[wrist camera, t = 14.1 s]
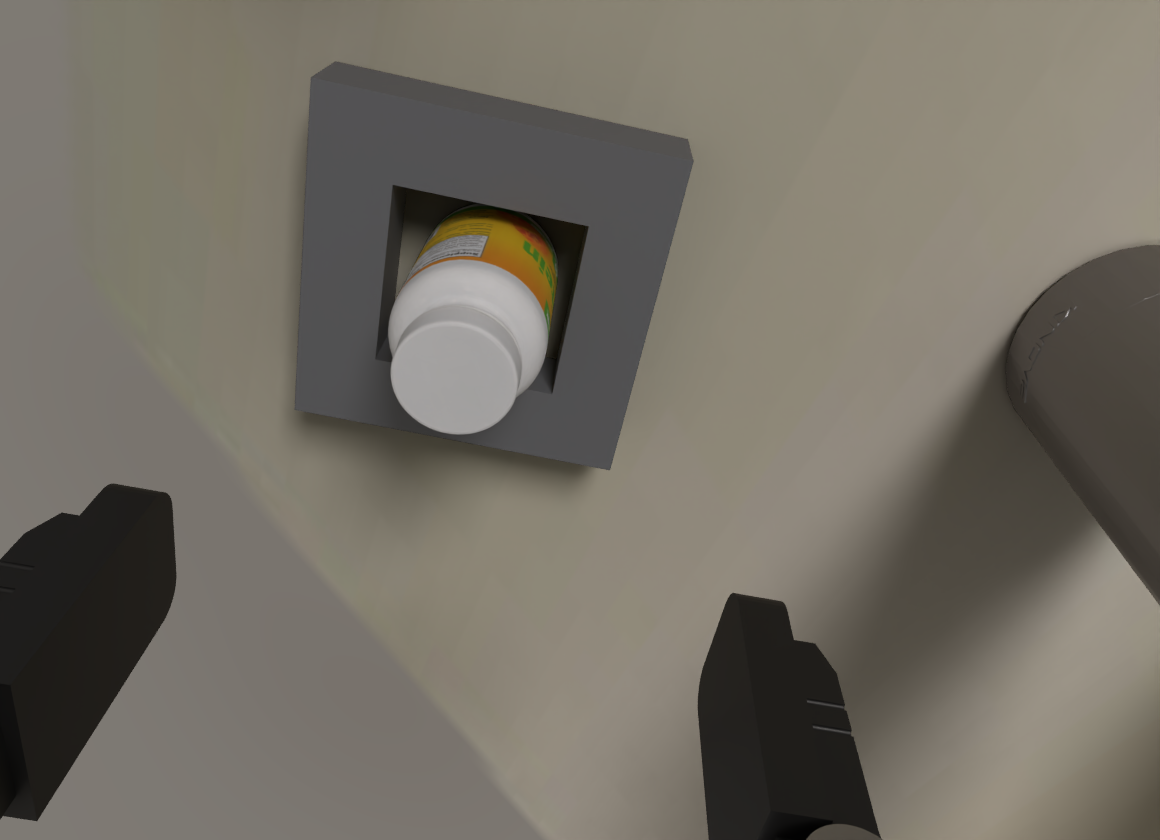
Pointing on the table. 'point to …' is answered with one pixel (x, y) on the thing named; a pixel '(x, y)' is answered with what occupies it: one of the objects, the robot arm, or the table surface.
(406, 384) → the supplement bottle
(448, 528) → the table surface
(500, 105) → the socket holder
